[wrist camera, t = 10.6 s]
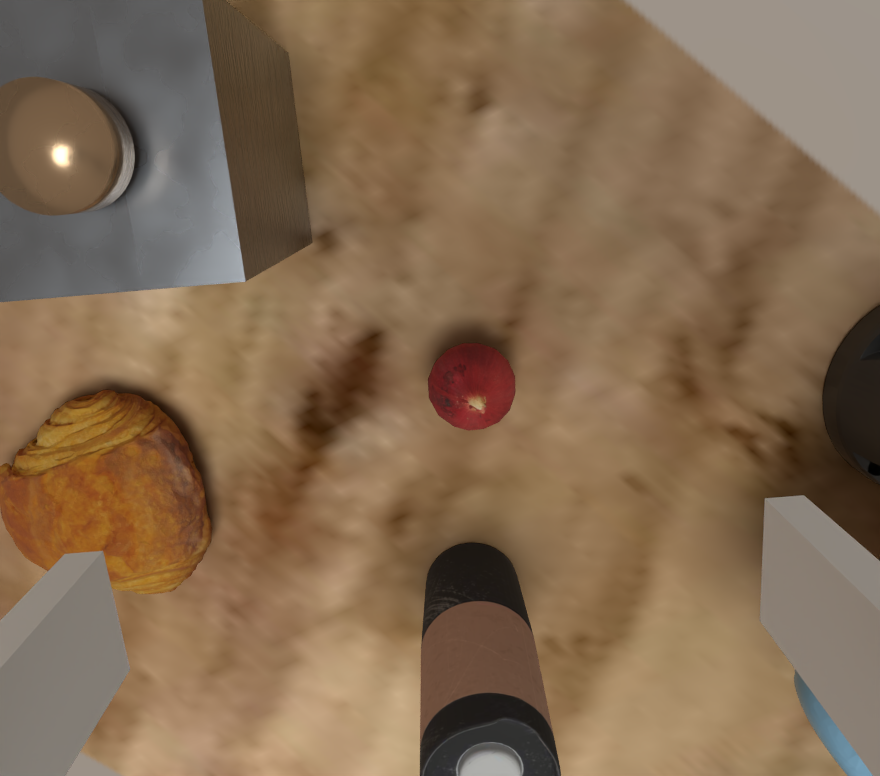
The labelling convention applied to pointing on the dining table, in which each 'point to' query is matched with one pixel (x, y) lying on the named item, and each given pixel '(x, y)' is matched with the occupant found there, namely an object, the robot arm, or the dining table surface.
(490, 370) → the onion
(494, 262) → the dining table surface
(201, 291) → the dining table surface
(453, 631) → the travel mug
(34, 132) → the plunger
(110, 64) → the grey peg holder block
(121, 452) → the croissant
